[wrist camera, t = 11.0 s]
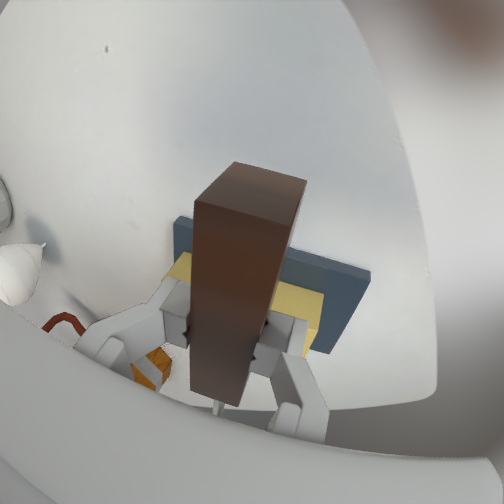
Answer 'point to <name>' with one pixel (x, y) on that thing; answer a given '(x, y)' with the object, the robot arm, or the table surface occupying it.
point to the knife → (236, 273)
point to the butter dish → (307, 284)
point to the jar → (4, 208)
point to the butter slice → (300, 307)
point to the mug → (144, 369)
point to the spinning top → (19, 272)
